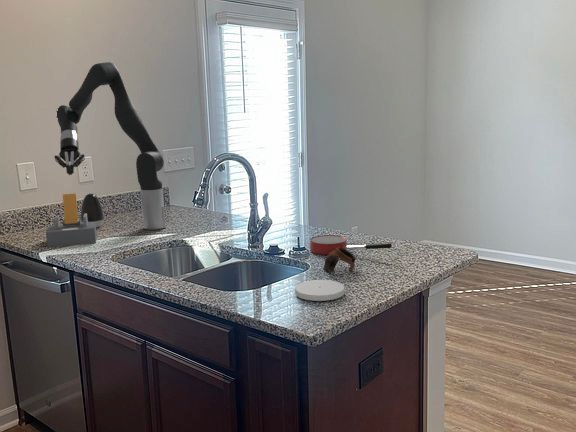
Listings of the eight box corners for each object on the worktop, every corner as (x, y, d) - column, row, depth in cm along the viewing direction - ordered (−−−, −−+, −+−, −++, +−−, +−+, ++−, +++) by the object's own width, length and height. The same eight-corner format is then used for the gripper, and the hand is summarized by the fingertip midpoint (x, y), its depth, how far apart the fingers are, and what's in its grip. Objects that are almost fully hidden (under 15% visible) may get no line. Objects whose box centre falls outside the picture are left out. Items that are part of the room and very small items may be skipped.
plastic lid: (300, 306, 164) (300, 297, 164) (290, 290, 178) (290, 282, 177) (350, 301, 167) (350, 292, 166) (337, 286, 180) (337, 278, 180)
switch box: (96, 235, 253) (94, 212, 251) (95, 242, 241) (93, 218, 239) (51, 239, 249) (48, 215, 247) (47, 247, 236) (44, 222, 234)
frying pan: (401, 255, 210) (401, 237, 209) (385, 264, 200) (385, 246, 198) (322, 245, 228) (321, 228, 227) (303, 253, 217) (303, 235, 216)
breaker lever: (80, 225, 247) (78, 194, 249) (79, 224, 245) (77, 193, 246) (63, 226, 246) (61, 195, 247) (62, 225, 243) (60, 194, 245)
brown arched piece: (328, 266, 202) (341, 245, 200) (350, 282, 197) (363, 261, 196) (311, 266, 191) (324, 244, 190) (334, 283, 187) (347, 261, 185)
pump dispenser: (109, 224, 275) (106, 191, 272) (99, 229, 265) (96, 195, 262) (87, 224, 276) (84, 191, 273) (77, 229, 266) (74, 195, 263)
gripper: (52, 137, 263) (52, 169, 254) (84, 136, 266) (85, 167, 257) (54, 148, 269) (54, 179, 260) (85, 147, 272) (87, 178, 263)
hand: (70, 173), depth 259 cm, fingers closed
